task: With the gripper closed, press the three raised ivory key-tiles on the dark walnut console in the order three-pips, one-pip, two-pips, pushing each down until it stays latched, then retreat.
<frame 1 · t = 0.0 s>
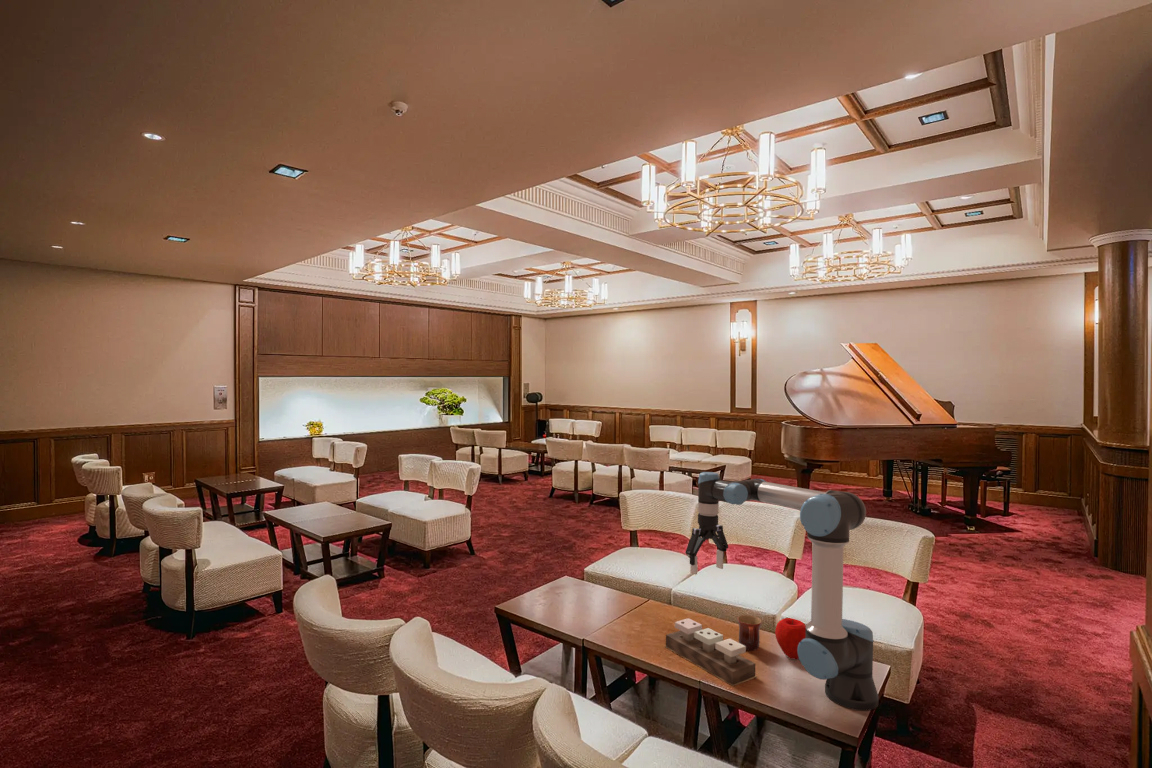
hand: (706, 570, 211), 28 cm above the table, fingers open, 13 cm apart
tile 2pip: (688, 631, 207), point 7 cm above the table, slide at 0.0 cm
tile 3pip: (708, 642, 199), point 7 cm above the table, slide at 0.0 cm
mug: (749, 649, 209), on the table
tile 1pip: (730, 653, 191), point 7 cm above the table, slide at 0.0 cm
console: (708, 661, 199), on the table
apple: (791, 657, 204), on the table
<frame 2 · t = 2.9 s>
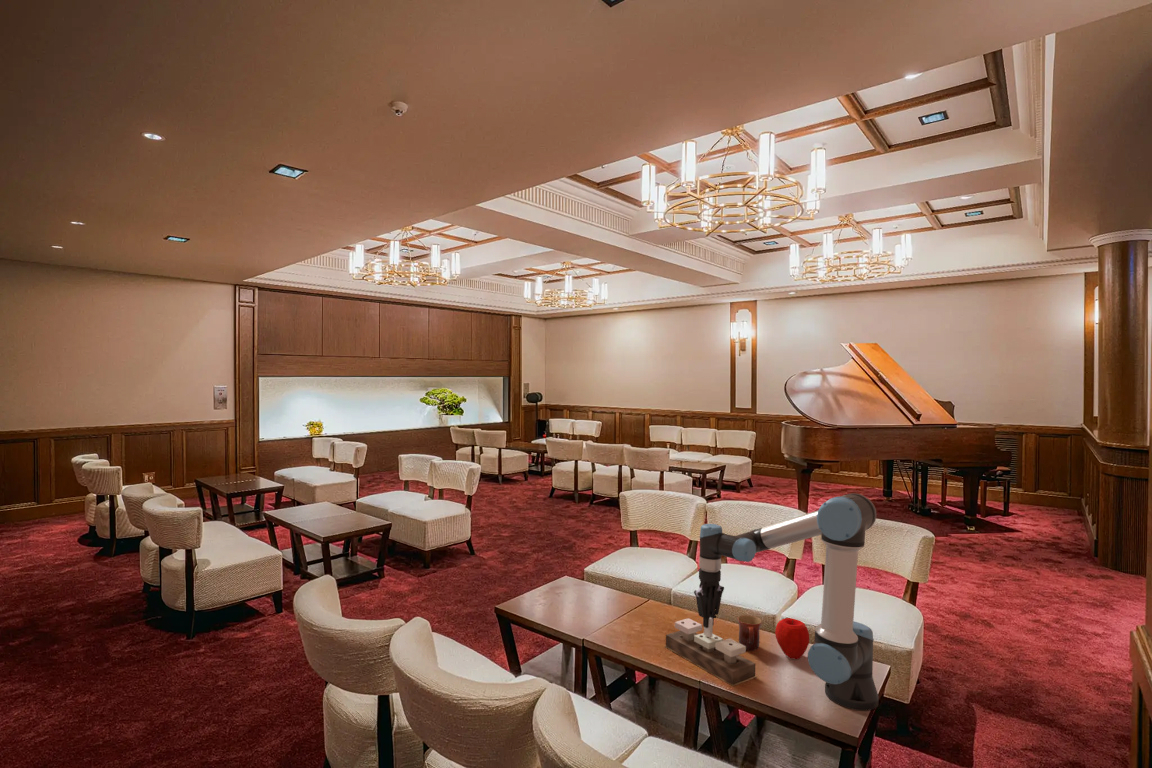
hand: (708, 635, 199), 9 cm above the table, fingers closed
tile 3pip: (708, 646, 199), point 5 cm above the table, slide at 1.3 cm, touching gripper
everything else where it was.
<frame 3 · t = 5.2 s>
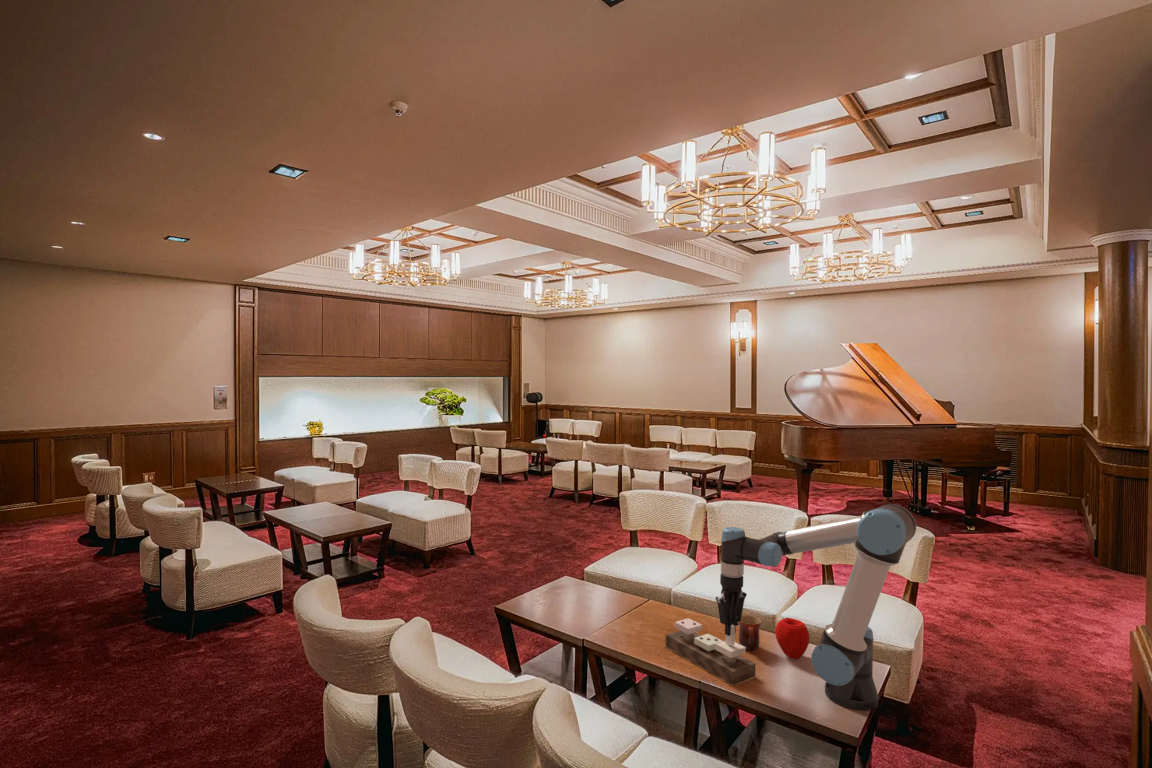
hand: (729, 643, 191), 10 cm above the table, fingers closed
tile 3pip: (708, 648, 199), point 5 cm above the table, slide at 2.1 cm
tile 1pip: (730, 654, 191), point 6 cm above the table, slide at 0.4 cm, touching gripper
everything else where it was.
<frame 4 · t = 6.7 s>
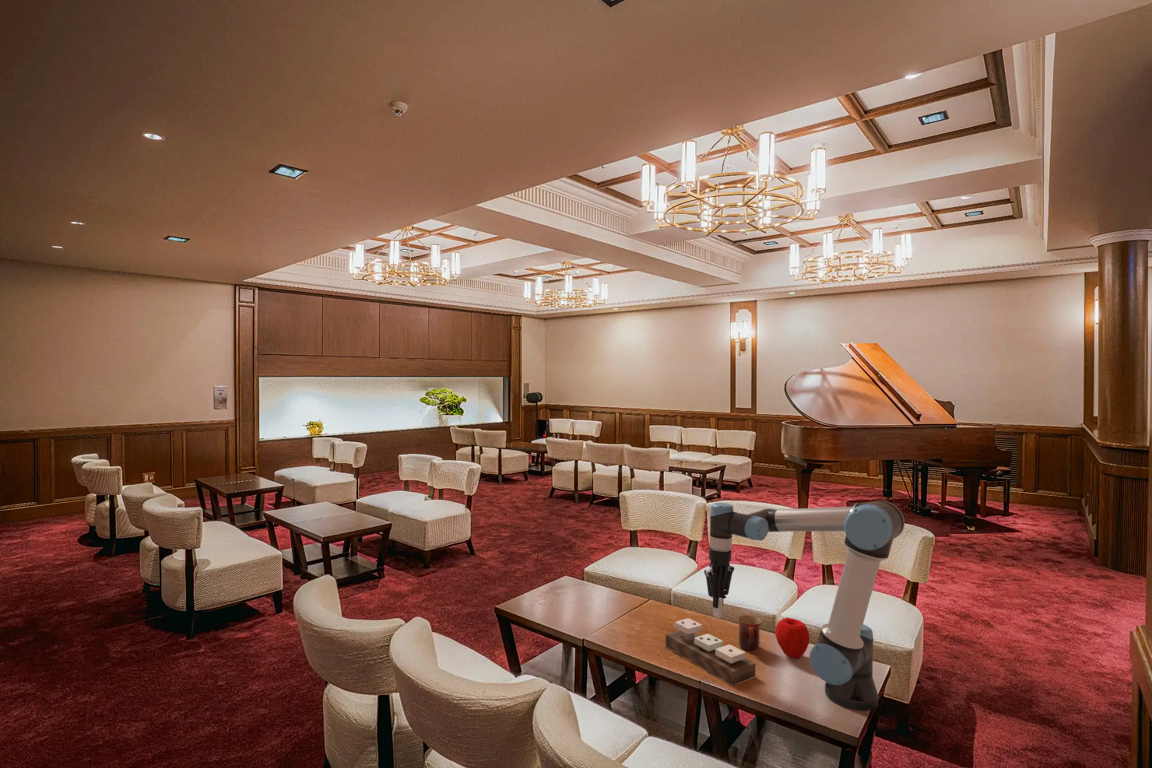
hand: (717, 616, 195), 17 cm above the table, fingers closed
tile 1pip: (730, 659, 191), point 5 cm above the table, slide at 2.1 cm
everything else where it was.
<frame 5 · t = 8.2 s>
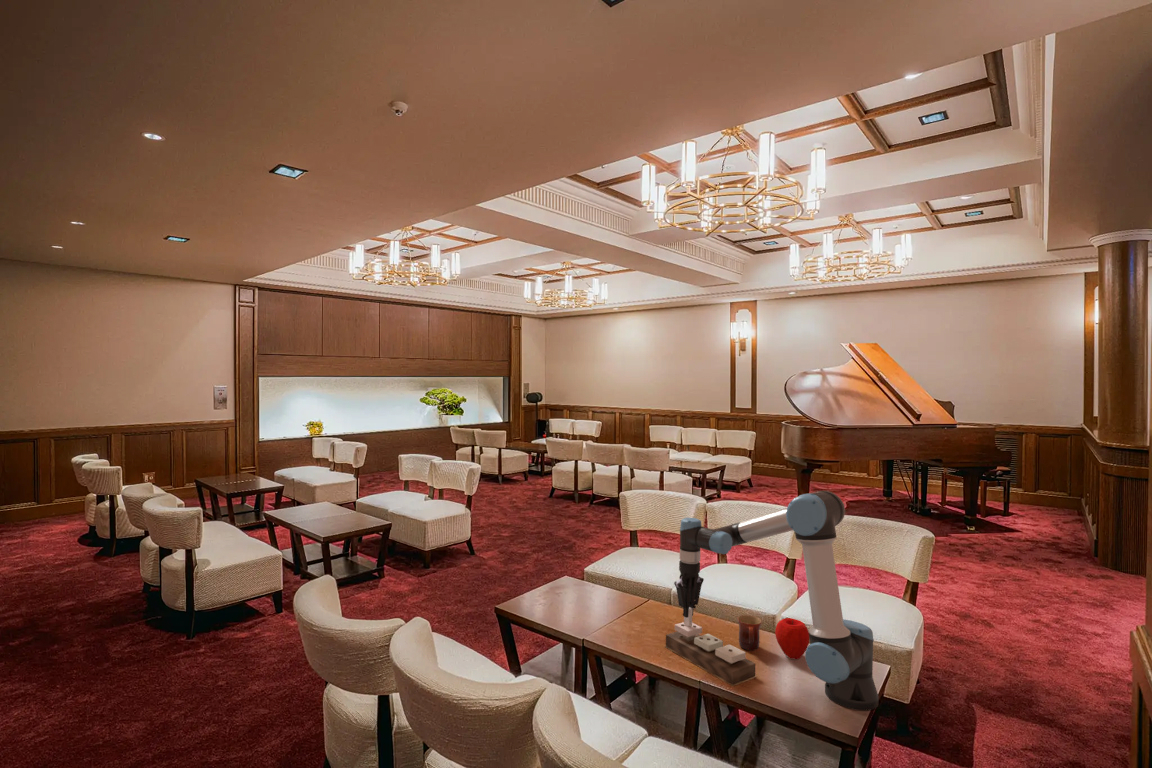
hand: (687, 625, 208), 9 cm above the table, fingers closed
tile 2pip: (688, 634, 207), point 6 cm above the table, slide at 1.0 cm, touching gripper
everything else where it was.
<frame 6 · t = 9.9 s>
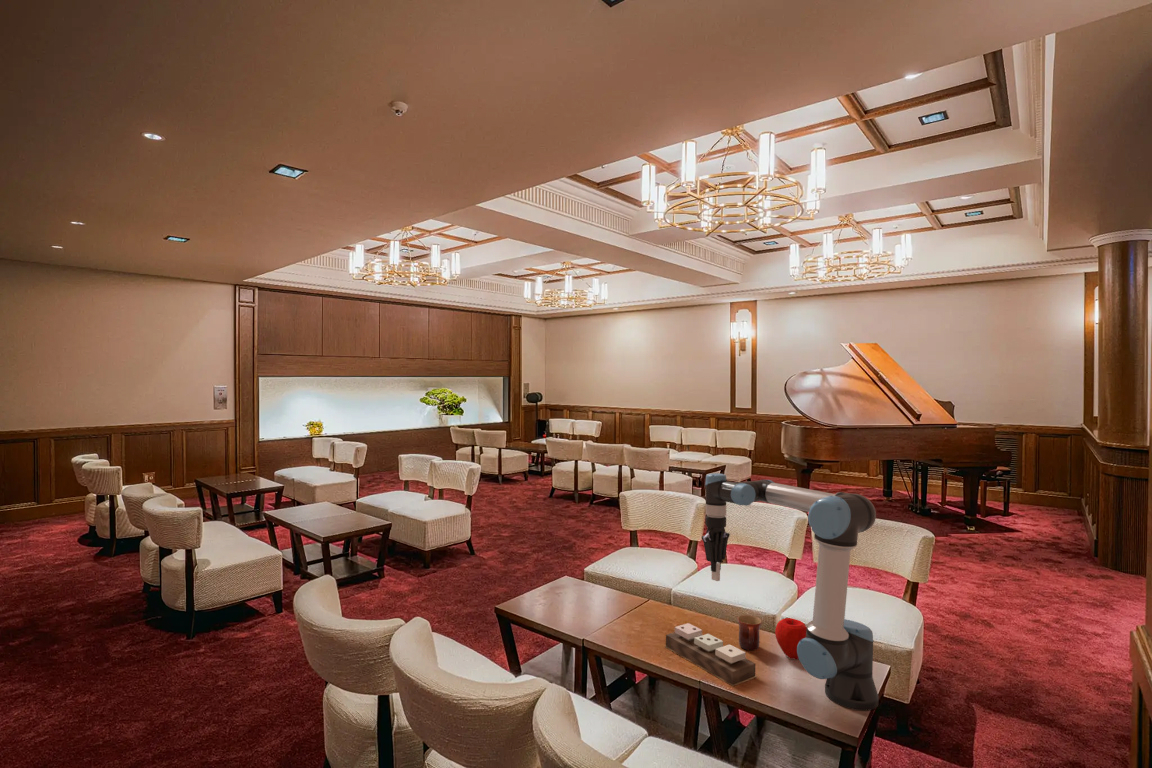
hand: (715, 579, 208), 26 cm above the table, fingers closed
tile 2pip: (688, 636, 207), point 5 cm above the table, slide at 1.9 cm
everything else where it was.
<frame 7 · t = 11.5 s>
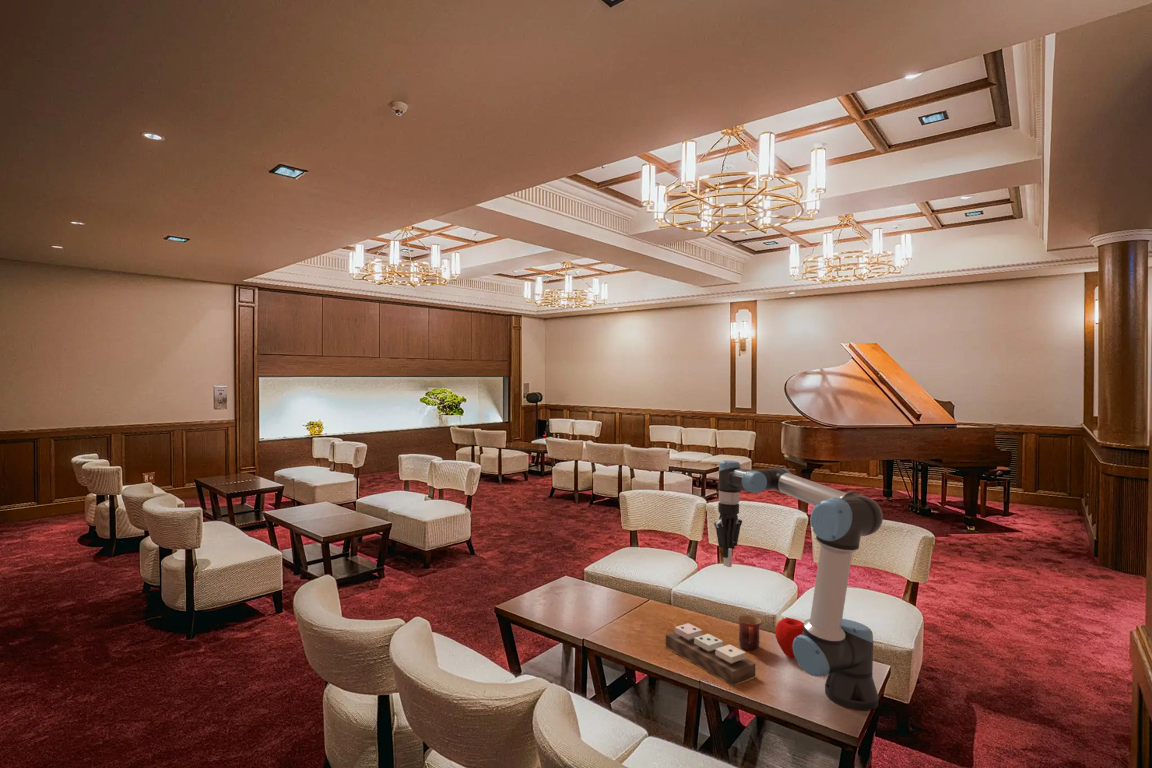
hand: (727, 565, 210), 30 cm above the table, fingers closed
nothing on the table moved.
at the end: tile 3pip slide at 2.1 cm; tile 1pip slide at 2.1 cm; tile 2pip slide at 1.9 cm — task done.
